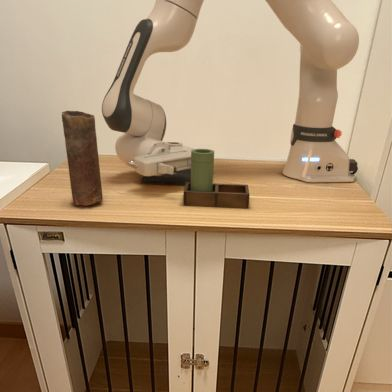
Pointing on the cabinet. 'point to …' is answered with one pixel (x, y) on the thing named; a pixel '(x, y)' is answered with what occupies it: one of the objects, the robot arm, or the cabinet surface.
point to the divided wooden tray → (218, 196)
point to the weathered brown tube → (82, 157)
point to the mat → (169, 178)
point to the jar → (202, 170)
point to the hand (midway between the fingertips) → (188, 168)
